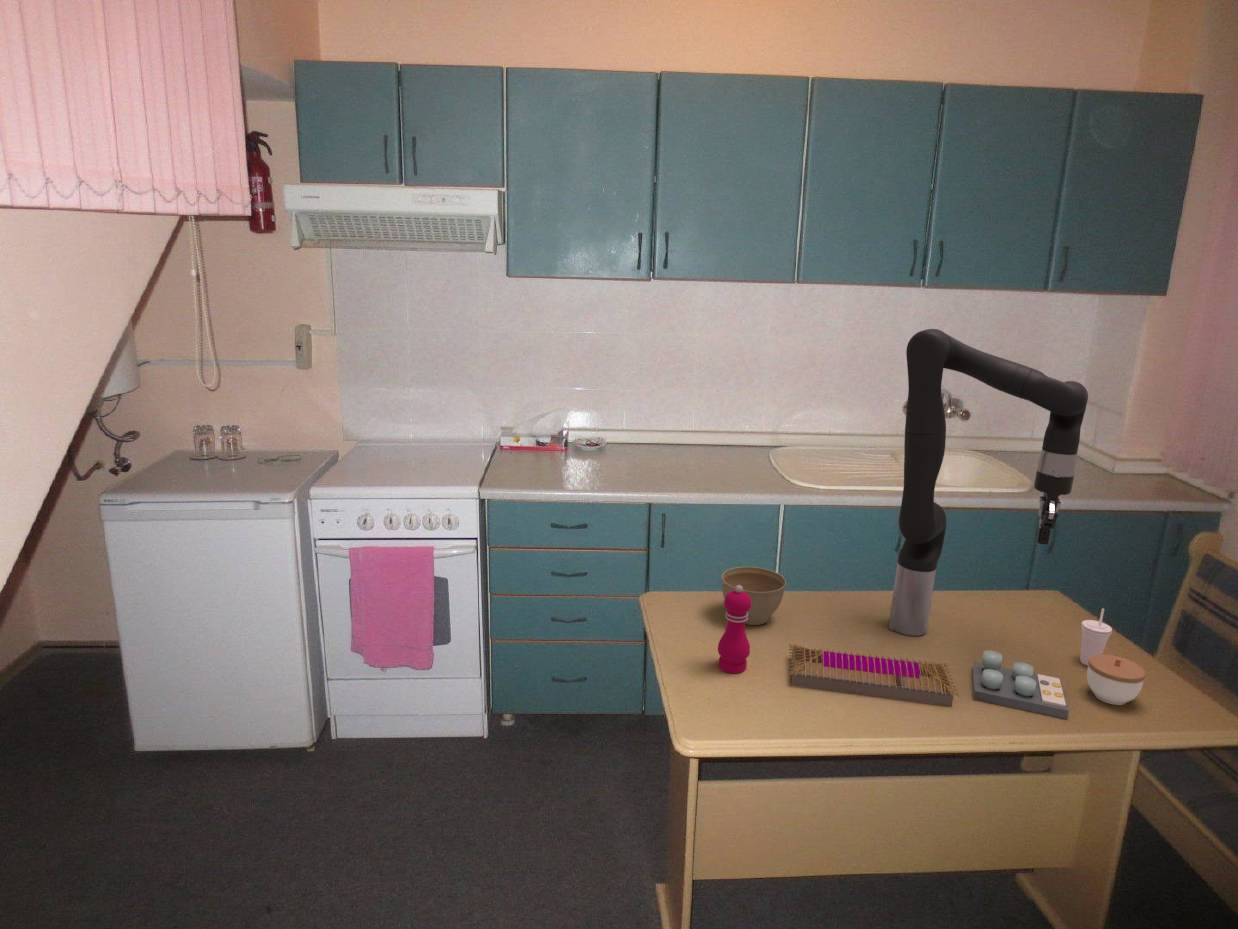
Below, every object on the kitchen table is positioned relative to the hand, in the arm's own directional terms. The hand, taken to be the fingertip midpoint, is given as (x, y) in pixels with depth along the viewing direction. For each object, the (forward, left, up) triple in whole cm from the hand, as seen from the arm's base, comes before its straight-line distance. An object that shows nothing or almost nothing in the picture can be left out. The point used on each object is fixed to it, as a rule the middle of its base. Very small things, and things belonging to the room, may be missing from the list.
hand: (1042, 543), depth 189 cm
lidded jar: (+17, -12, -29) cm, 36 cm away
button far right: (-1, -16, -29) cm, 33 cm away
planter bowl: (-64, -8, -29) cm, 71 cm away
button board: (-2, -19, -29) cm, 35 cm away
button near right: (-1, -22, -29) cm, 36 cm away
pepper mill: (-62, -35, -29) cm, 77 cm away
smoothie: (+15, +4, -29) cm, 33 cm away
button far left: (-8, -16, -27) cm, 32 cm away
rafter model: (-33, -28, -30) cm, 52 cm away
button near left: (-8, -22, -29) cm, 37 cm away
